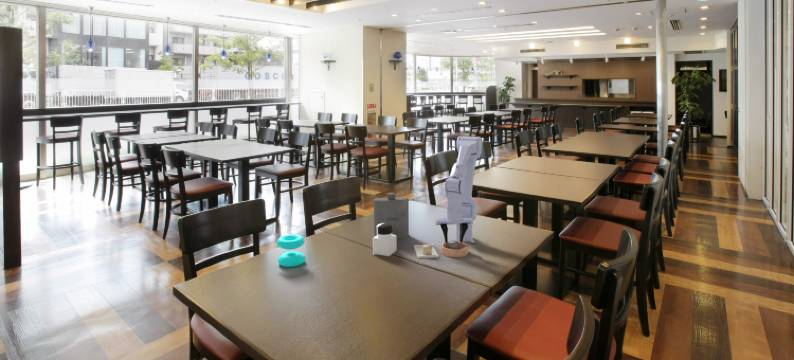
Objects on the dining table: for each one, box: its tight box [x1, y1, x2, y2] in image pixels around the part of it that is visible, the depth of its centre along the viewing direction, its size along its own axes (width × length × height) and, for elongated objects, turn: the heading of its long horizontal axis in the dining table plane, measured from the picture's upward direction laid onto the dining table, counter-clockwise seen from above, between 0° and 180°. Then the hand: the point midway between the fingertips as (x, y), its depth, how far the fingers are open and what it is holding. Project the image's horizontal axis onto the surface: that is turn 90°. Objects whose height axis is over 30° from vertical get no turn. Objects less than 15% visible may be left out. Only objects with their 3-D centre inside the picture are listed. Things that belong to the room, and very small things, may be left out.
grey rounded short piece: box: [448, 240, 459, 250], centre depth 181 cm, size 4×4×4 cm
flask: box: [373, 192, 410, 240], centre depth 197 cm, size 15×6×20 cm, turn 99°
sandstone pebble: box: [422, 243, 432, 255], centre depth 177 cm, size 4×4×4 cm
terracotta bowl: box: [440, 241, 469, 258], centre depth 179 cm, size 10×10×4 cm
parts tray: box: [413, 244, 440, 259], centre depth 180 cm, size 12×8×2 cm, turn 5°
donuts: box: [276, 233, 307, 268], centre depth 171 cm, size 10×10×10 cm
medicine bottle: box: [372, 223, 397, 257], centre depth 180 cm, size 7×7×12 cm
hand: (453, 242), depth 181 cm, fingers open, 5 cm apart
